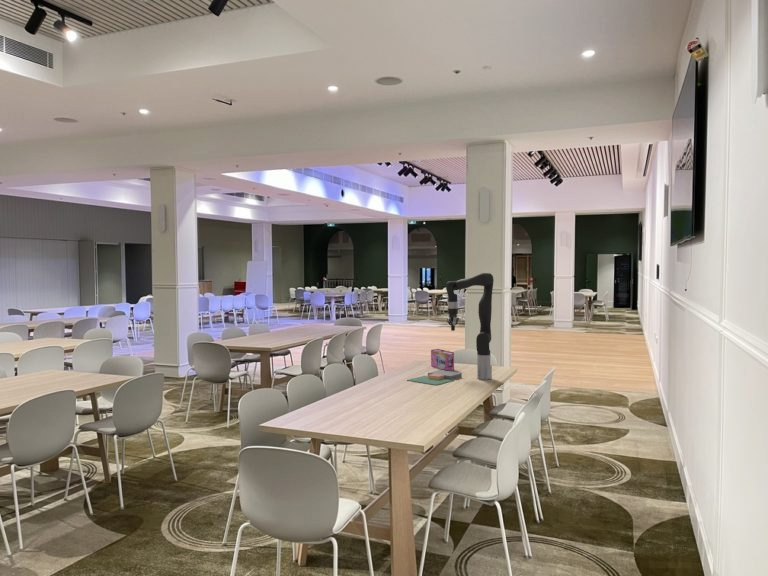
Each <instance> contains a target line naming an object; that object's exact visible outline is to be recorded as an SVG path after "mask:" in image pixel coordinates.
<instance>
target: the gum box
mask: <svg viewBox="0 0 768 576" xmlns="http://www.w3.org/2000/svg"><path fill="white" fill-rule="evenodd" d="M430 366H431V367H433V368H437V369H439V370H442V371H453V370H455V352H453V351H449V350H446V349H440V348H435V349H431V350H430Z"/></svg>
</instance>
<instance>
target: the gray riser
mask: <svg viewBox="0 0 768 576" xmlns="http://www.w3.org/2000/svg"><path fill="white" fill-rule="evenodd" d="M431 374H440V375H444V379H449V380H457V379H461V378H462V377H463V375H462V373H461V372H455V371H450V370H442V369H439V370H434V371H429V372H427V376H428V375H431Z"/></svg>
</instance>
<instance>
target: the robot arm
mask: <svg viewBox="0 0 768 576" xmlns="http://www.w3.org/2000/svg"><path fill="white" fill-rule="evenodd" d="M445 284H446V285H445V291H446V293H447V314H448V318H446V321H447V323H448V325H449V326H450V329H451V330H450V331H452V332H454V331H456V326H457V324H458V322H459V320H460V318H459V317H458V314H459V302H458V300H459V299H458V294H457V293H455V291H459V290H464V289H468V288H470V287H474V286H477V287H478V286H480V287H483V293H482V296H481V298H480V300H479V302H478V311H477V312H478V319H479V323H480V327H479V328H480V329H479V333H478V334H477V336H476V338H475V339H476V341H475V342H476V353H477V359H476V360H477V361H476V363H477V379H478V380H483V381H484V380H485V381H488V380H492V379H493V371H492V370H493V367H492V366H493V365H491V349H490V343H491V341H492V330H491V328H492V327H491V326H492V325H491V323H492V312H493V311H492V309H493V308H492V307H493V306H492V305H493V303H492V300H493V297H492V296H493V290H494V276H493V274H492V273H491V272H490V273H489V272H482V273H479V274H477V275H475V276H472V277H467V278H461V279H459V280H452V281H451V280H450V281H447V282H446V283H445Z"/></svg>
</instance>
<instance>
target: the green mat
mask: <svg viewBox="0 0 768 576" xmlns="http://www.w3.org/2000/svg"><path fill="white" fill-rule="evenodd" d="M454 380H455V379H454ZM454 380H449V379H441V380H434V379H428V375H422V376H418V377H417V376H416V377H413V378H410V379H406V381H407V382H414V383H419V384H424V385H425V384H426V385H432V386H440V385H444V384H447V383H451V382H454Z"/></svg>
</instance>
